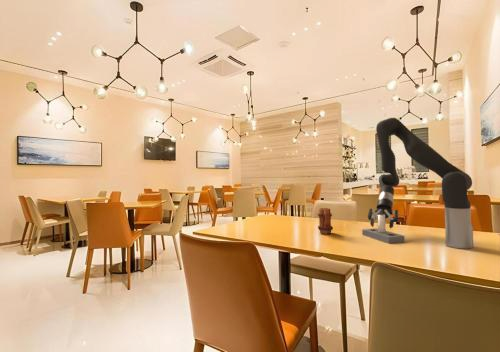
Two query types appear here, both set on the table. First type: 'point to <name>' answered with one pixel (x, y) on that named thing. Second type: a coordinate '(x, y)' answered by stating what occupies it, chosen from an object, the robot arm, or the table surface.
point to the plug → (381, 222)
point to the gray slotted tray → (383, 236)
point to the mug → (325, 221)
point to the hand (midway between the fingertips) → (381, 226)
